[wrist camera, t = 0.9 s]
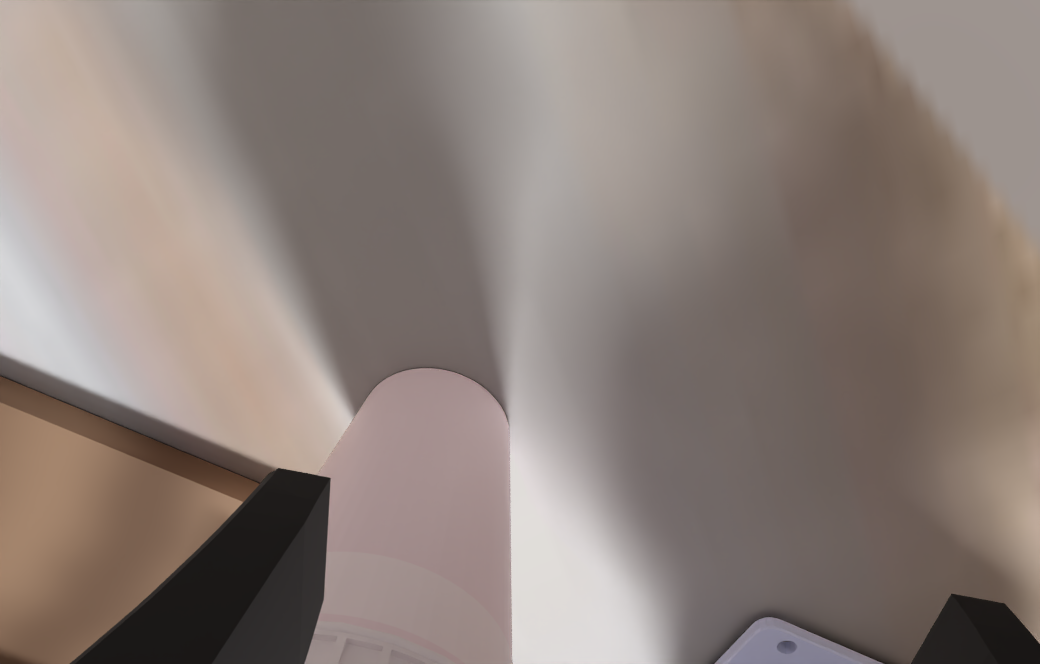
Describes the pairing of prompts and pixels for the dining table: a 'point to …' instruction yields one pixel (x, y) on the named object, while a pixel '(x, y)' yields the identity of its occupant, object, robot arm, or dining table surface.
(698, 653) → the dining table surface
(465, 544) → the smoothie
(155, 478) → the open-sided grey tray
